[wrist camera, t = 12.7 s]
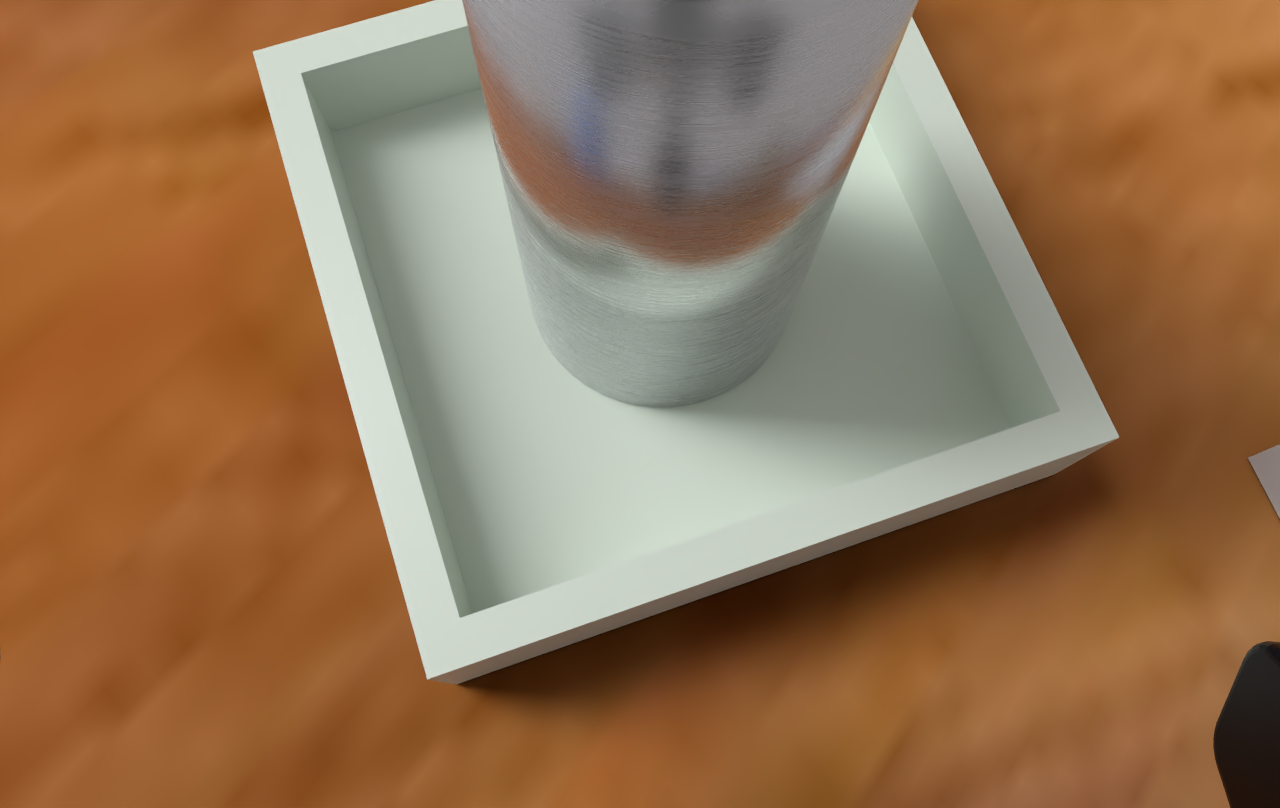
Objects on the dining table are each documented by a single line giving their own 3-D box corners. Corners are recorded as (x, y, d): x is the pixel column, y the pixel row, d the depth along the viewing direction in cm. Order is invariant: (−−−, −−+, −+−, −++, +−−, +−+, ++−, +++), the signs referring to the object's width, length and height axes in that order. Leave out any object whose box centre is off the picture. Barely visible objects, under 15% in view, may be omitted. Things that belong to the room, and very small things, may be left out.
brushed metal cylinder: (841, 248, 22) (1078, -271, 11) (701, 459, 21) (799, 126, 9) (624, 120, 23) (624, -491, 12) (475, 315, 22) (303, -157, 10)
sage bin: (1054, 474, 22) (1119, 437, 19) (456, 684, 20) (427, 678, 18) (822, -21, 25) (846, -116, 22) (298, 131, 24) (253, 51, 21)
